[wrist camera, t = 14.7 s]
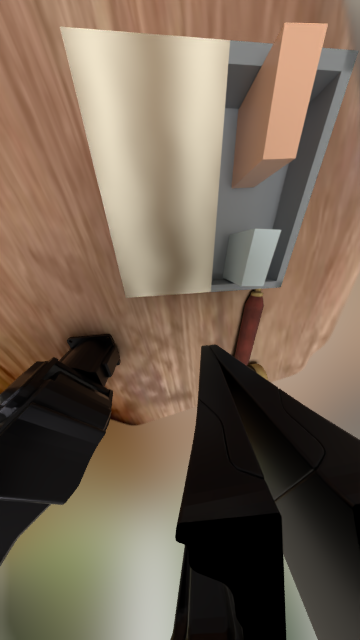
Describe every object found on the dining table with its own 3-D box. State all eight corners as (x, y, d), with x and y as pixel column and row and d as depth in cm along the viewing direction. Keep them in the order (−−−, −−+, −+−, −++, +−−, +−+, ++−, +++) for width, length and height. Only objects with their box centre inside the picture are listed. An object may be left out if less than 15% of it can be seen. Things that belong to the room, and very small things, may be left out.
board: (132, 289, 18) (125, 297, 15) (90, 92, 10) (59, 26, 7) (203, 285, 19) (210, 292, 16) (212, 97, 11) (230, 40, 8)
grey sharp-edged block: (241, 286, 14) (263, 286, 14) (255, 228, 11) (281, 229, 12) (222, 277, 18) (239, 277, 18) (229, 234, 16) (249, 235, 16)
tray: (203, 285, 19) (210, 292, 16) (212, 97, 11) (230, 40, 8) (262, 281, 19) (280, 287, 16) (308, 102, 12) (358, 50, 9)
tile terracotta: (262, 159, 9) (295, 158, 10) (284, 22, 7) (327, 23, 7) (231, 188, 14) (254, 187, 14) (238, 110, 11) (265, 110, 12)
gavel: (233, 287, 16) (305, 285, 17) (220, 282, 21) (278, 280, 22) (216, 397, 25) (264, 392, 26) (209, 378, 29) (251, 374, 30)
